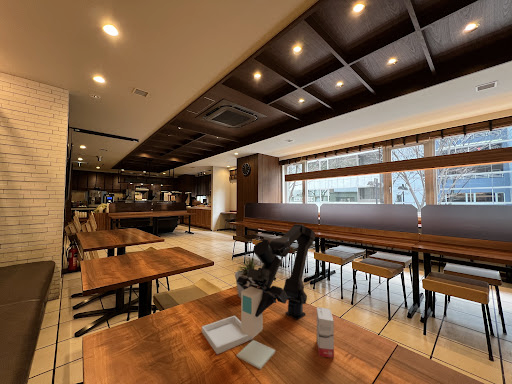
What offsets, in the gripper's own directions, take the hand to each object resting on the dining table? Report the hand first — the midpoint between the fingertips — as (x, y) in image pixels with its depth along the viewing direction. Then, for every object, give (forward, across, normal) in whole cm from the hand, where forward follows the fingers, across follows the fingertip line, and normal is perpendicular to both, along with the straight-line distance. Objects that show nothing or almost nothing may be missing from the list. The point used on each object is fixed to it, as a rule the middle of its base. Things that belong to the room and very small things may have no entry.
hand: (249, 313), depth 69 cm
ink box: (-4, +18, +23) cm, 29 cm away
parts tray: (+8, -13, +11) cm, 19 cm away
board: (+8, +2, +11) cm, 14 cm away
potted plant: (-13, -28, +33) cm, 45 cm away
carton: (+3, 0, +5) cm, 6 cm away
